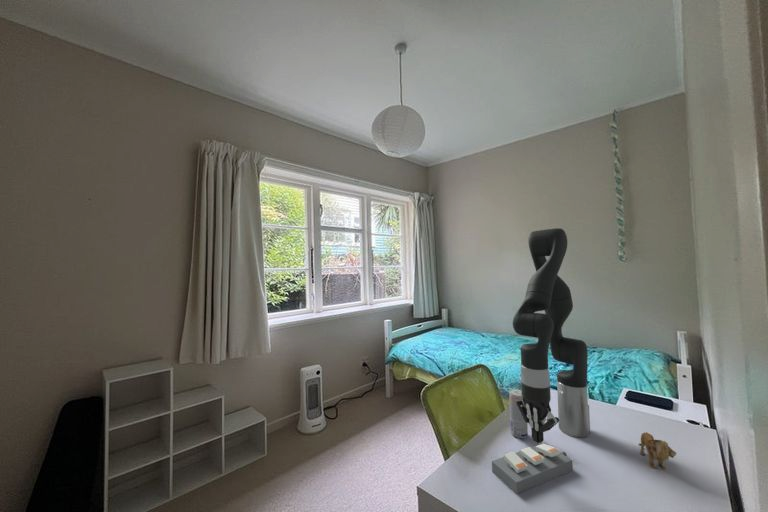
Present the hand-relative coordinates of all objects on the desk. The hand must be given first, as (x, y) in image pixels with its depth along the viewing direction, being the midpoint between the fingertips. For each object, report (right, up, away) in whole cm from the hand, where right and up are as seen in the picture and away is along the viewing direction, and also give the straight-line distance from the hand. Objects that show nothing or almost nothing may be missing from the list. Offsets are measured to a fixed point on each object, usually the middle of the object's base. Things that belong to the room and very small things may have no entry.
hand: (537, 441), depth 83 cm
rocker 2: (+5, -6, +4) cm, 9 cm away
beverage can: (+4, -10, +19) cm, 22 cm away
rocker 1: (-7, -6, -1) cm, 10 cm away
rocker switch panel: (+1, -10, +2) cm, 10 cm away
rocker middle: (-1, -6, +2) cm, 7 cm away
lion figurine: (+38, -9, +4) cm, 40 cm away
